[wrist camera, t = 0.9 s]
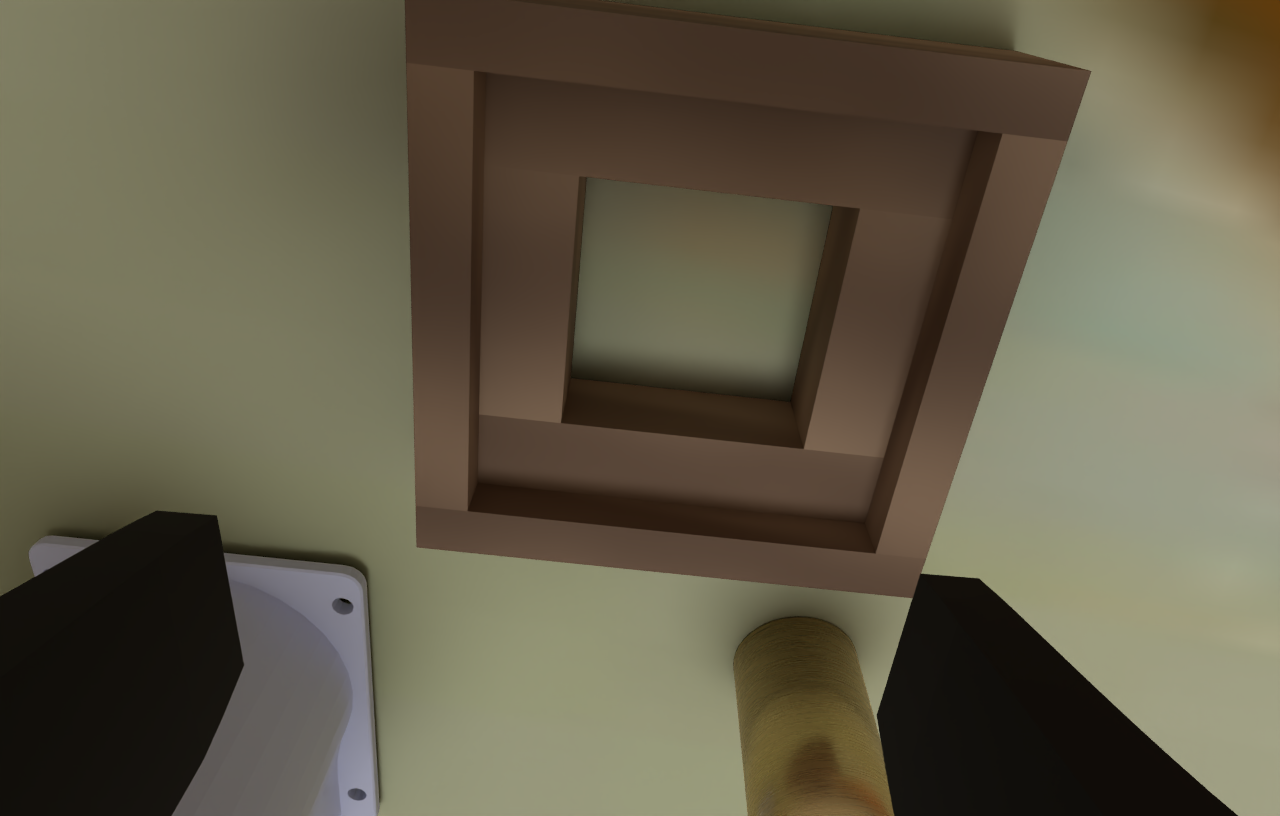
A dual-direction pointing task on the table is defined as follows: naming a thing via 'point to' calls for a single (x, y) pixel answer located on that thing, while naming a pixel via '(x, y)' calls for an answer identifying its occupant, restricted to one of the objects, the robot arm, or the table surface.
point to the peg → (807, 724)
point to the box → (728, 163)
